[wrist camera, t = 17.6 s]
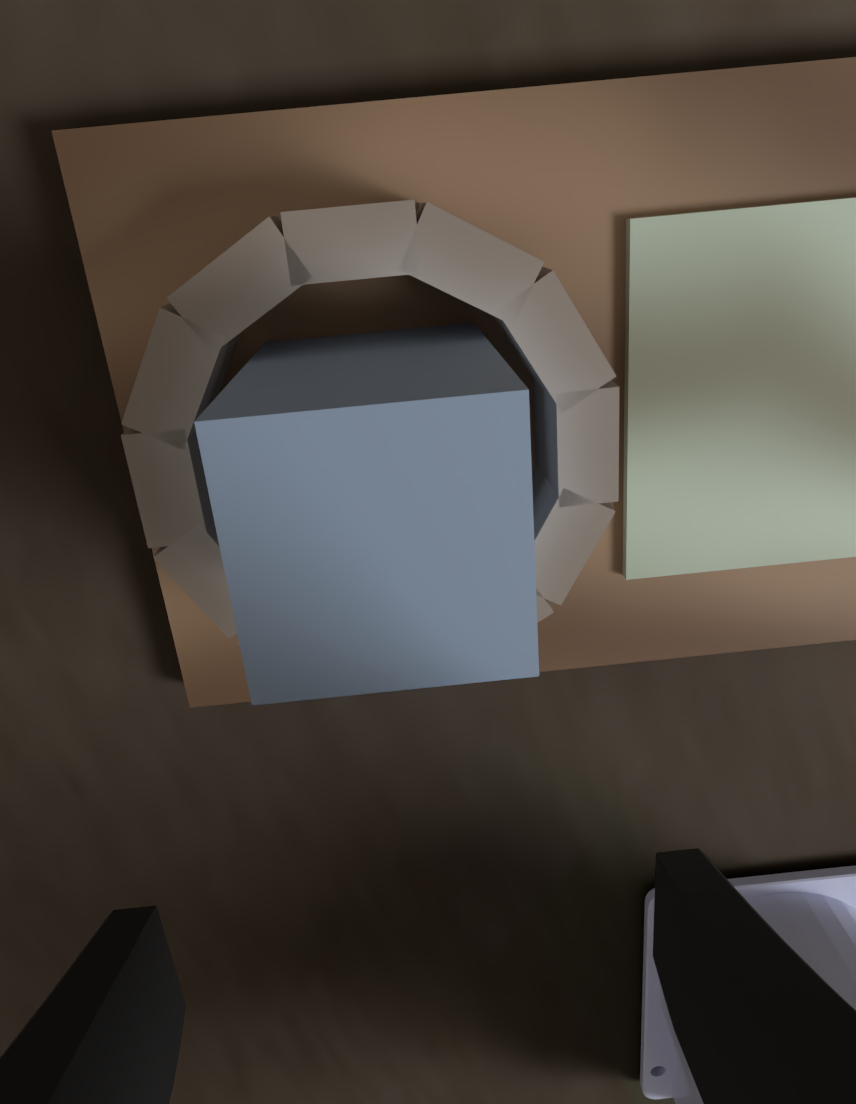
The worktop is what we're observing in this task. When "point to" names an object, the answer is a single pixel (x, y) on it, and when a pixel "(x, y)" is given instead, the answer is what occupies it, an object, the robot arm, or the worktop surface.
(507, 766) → the worktop surface
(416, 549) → the peg block
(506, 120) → the board
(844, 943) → the robot arm
